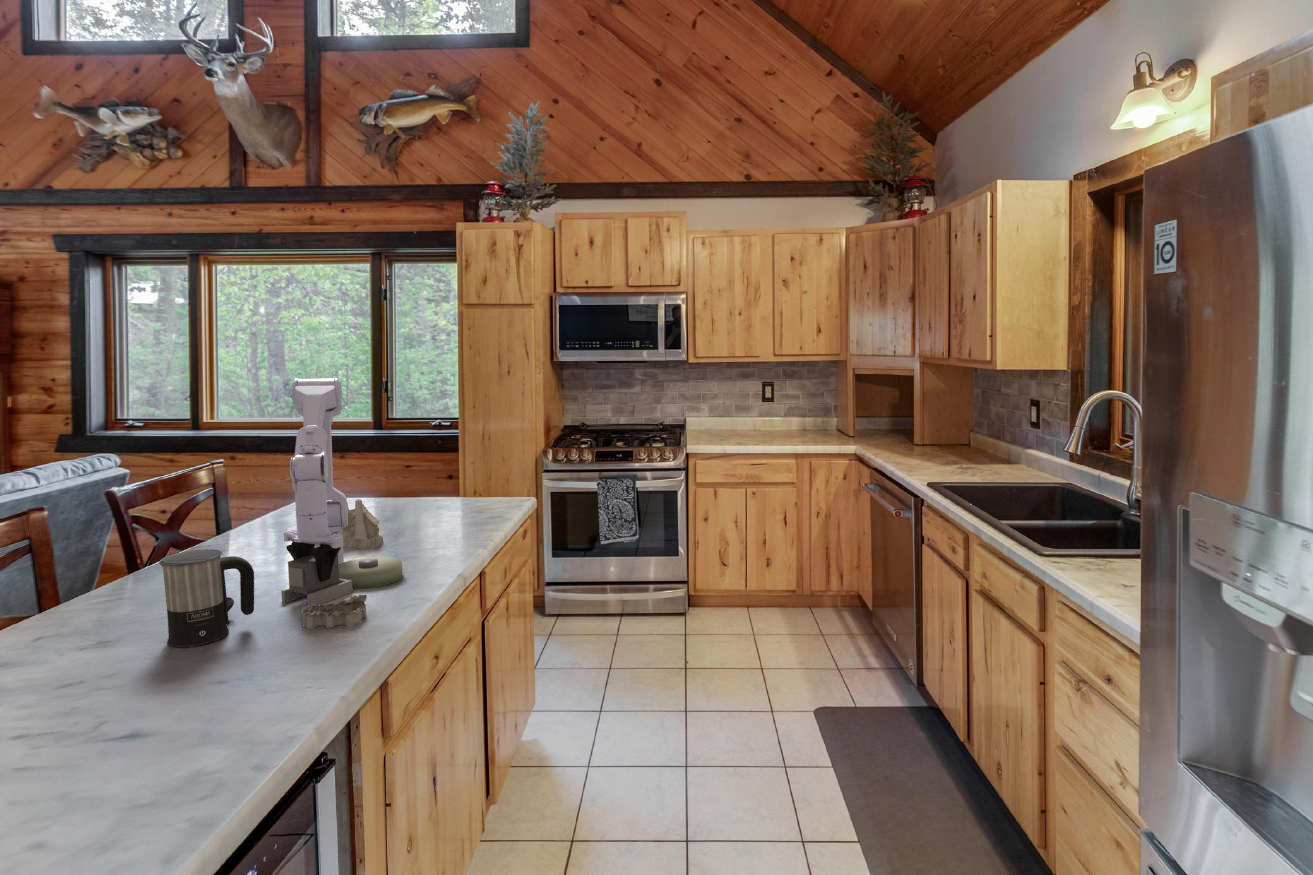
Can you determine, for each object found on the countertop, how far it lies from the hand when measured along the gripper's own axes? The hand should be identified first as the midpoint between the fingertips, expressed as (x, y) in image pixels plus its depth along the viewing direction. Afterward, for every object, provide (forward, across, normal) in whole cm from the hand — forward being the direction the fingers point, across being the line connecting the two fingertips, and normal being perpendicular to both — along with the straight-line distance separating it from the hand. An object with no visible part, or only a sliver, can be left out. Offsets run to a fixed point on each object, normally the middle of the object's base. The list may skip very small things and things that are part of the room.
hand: (315, 578), depth 148 cm
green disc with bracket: (+4, 0, +8) cm, 9 cm away
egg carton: (+4, +14, -8) cm, 17 cm away
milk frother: (+4, -4, -21) cm, 22 cm away
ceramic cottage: (+4, -28, +36) cm, 46 cm away
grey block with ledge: (+2, 0, 0) cm, 2 cm away
